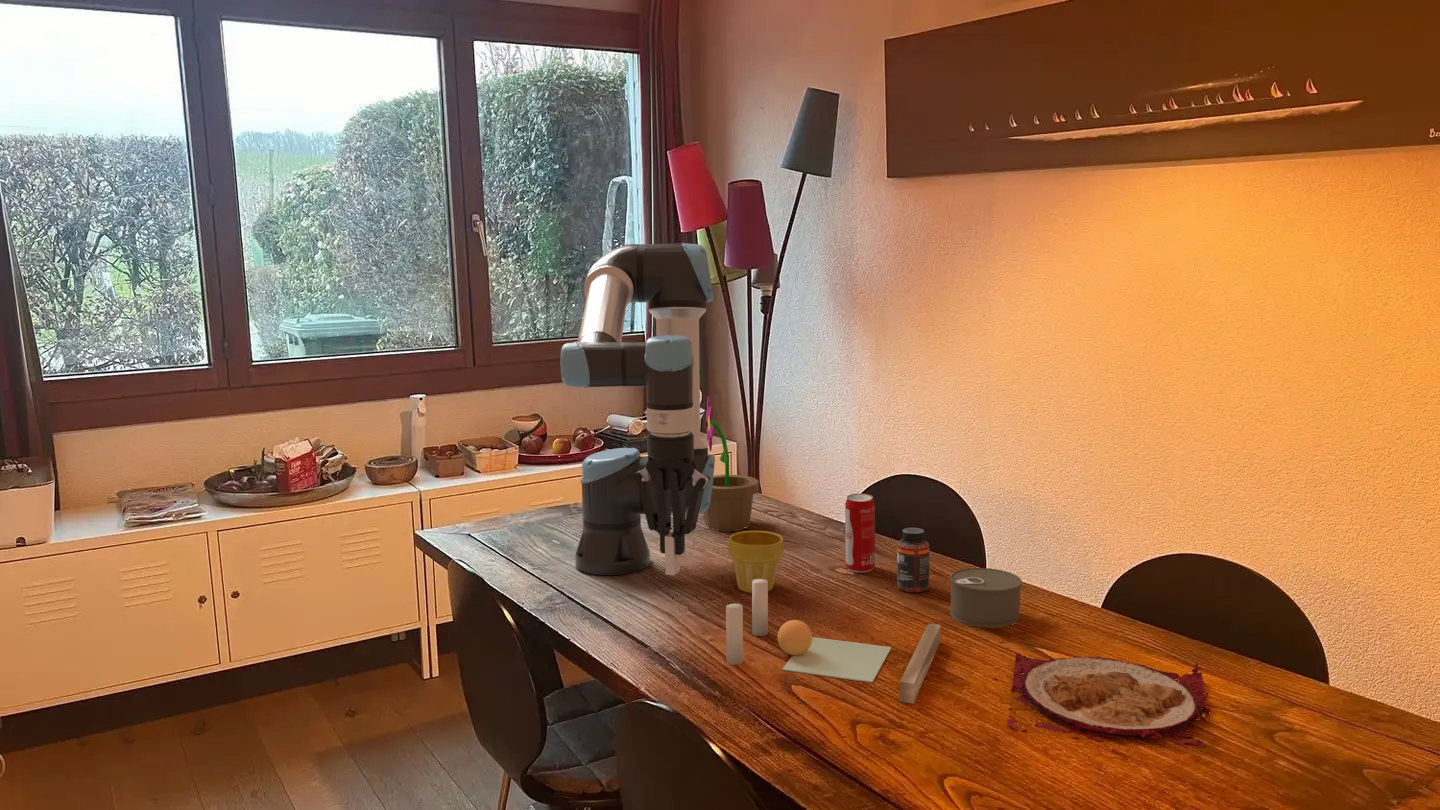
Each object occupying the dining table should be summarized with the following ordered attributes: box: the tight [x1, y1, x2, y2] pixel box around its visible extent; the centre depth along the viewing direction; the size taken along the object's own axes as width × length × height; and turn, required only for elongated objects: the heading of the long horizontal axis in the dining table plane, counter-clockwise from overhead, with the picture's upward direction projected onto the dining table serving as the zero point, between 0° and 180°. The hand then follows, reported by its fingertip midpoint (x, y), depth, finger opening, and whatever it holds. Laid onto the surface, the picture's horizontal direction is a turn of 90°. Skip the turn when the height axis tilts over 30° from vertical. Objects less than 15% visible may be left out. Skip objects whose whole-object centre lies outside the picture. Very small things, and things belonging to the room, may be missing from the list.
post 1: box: [725, 603, 744, 666], centre depth 164 cm, size 3×3×9 cm
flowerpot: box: [703, 395, 759, 531], centre depth 240 cm, size 14×14×30 cm
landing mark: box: [781, 636, 892, 684], centre depth 166 cm, size 14×14×1 cm
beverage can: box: [844, 492, 876, 574], centre depth 208 cm, size 6×6×15 cm
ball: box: [777, 619, 813, 656], centre depth 167 cm, size 6×6×6 cm
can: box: [950, 567, 1023, 629], centre depth 183 cm, size 12×12×7 cm
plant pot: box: [727, 530, 784, 594], centre depth 199 cm, size 10×10×10 cm
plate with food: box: [1006, 652, 1211, 750], centre depth 149 cm, size 25×26×4 cm
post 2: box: [751, 579, 769, 637], centre depth 176 cm, size 3×3×9 cm
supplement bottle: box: [896, 527, 930, 594], centre depth 197 cm, size 6×6×11 cm
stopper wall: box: [899, 623, 941, 705], centre depth 161 cm, size 2×24×3 cm, turn 160°
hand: (672, 572), depth 174 cm, fingers closed
